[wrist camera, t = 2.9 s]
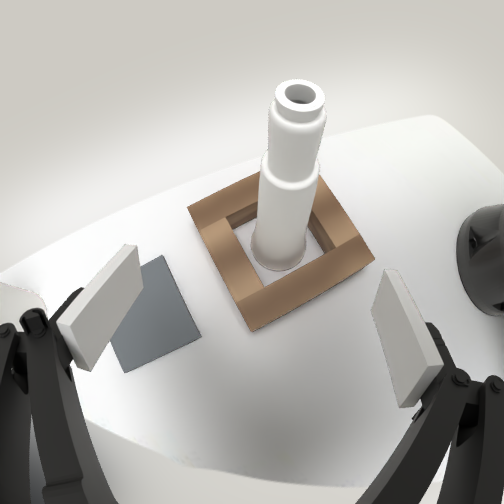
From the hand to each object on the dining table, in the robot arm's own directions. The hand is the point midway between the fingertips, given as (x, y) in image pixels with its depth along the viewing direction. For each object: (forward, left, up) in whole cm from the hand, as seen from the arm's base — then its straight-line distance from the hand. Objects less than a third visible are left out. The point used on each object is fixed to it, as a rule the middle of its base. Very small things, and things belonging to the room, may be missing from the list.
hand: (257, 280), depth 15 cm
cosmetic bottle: (+5, -5, -16) cm, 18 cm away
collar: (+5, -5, -16) cm, 18 cm away
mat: (+5, +12, -16) cm, 21 cm away
